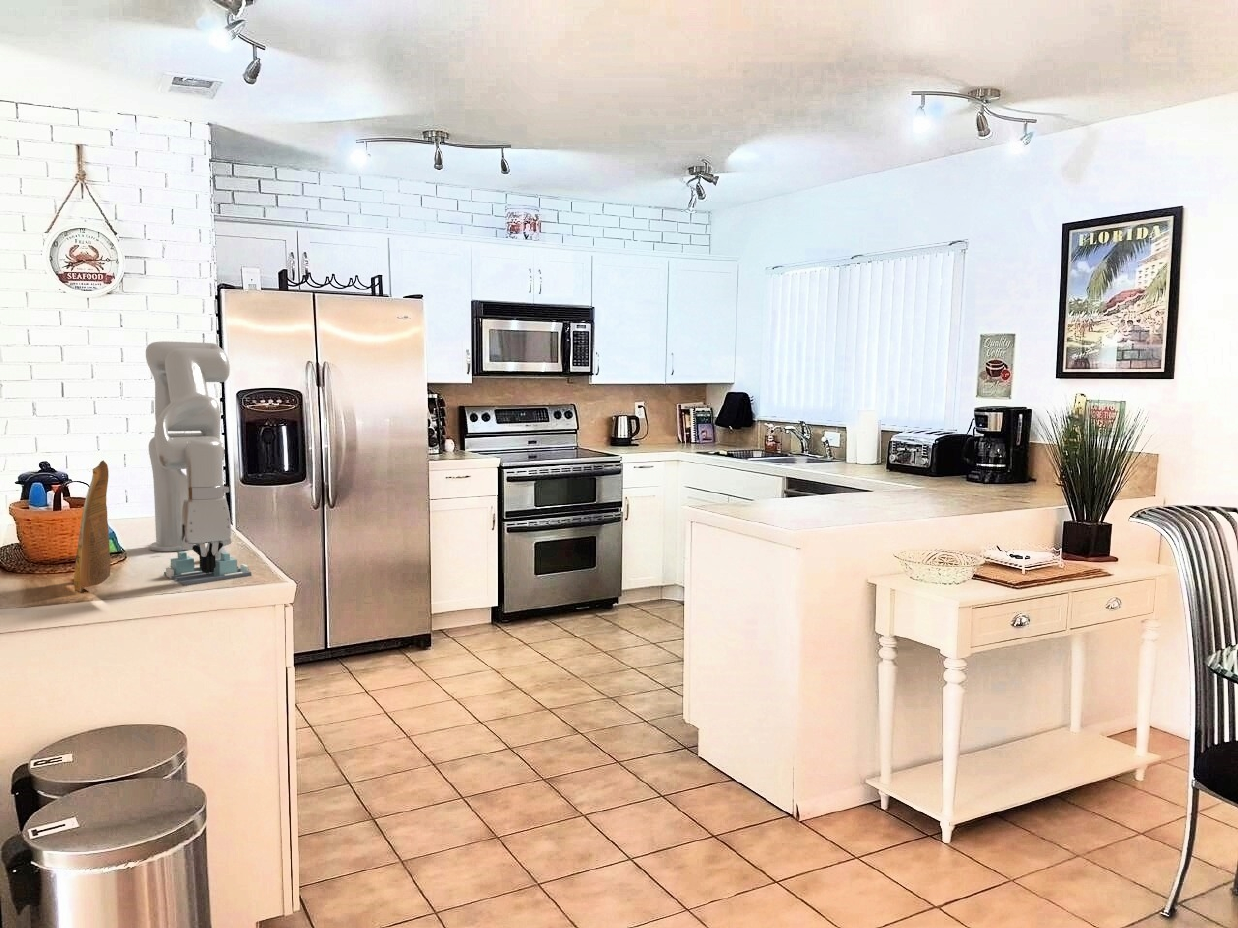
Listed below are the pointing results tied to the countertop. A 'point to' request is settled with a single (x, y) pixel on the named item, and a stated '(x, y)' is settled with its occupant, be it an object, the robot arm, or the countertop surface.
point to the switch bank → (205, 576)
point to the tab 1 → (182, 563)
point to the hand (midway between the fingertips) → (207, 571)
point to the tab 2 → (225, 565)
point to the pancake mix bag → (93, 534)
